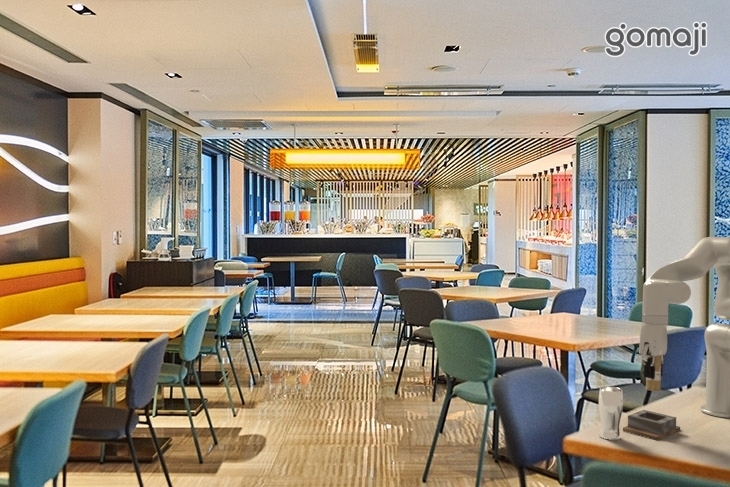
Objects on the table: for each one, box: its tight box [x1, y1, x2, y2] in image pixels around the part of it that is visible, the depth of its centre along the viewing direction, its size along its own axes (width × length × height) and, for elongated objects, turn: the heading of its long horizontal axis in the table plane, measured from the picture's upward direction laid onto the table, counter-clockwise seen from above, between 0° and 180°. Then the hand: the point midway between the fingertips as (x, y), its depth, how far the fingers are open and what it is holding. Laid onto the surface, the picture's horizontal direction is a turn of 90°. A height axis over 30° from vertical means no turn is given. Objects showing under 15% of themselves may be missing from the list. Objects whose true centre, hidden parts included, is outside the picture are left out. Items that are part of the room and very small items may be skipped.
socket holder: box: [622, 409, 681, 441], centre depth 201 cm, size 16×11×4 cm
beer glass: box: [598, 385, 624, 441], centre depth 193 cm, size 7×7×15 cm
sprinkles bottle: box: [644, 350, 662, 392], centre depth 200 cm, size 5×5×13 cm
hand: (653, 376), depth 200 cm, fingers closed on sprinkles bottle, 4 cm apart
